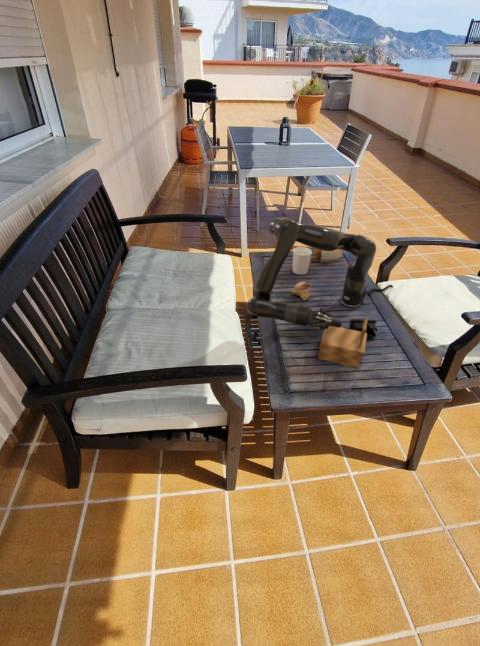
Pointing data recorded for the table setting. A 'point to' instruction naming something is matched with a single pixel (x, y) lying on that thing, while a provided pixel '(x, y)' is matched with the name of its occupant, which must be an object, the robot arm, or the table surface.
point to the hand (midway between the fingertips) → (341, 324)
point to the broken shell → (302, 290)
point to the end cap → (358, 325)
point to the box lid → (346, 338)
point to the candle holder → (301, 260)
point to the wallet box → (339, 356)
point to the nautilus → (327, 255)
